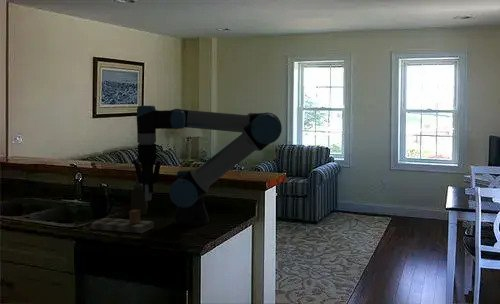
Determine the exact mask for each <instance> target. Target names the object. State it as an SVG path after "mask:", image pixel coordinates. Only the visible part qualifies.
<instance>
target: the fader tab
mask: <svg viewBox="0 0 500 304" xmlns="http://www.w3.org/2000/svg"><path fill="white" fill-rule="evenodd" d="M141 217H142V216H140V210H135V209H134V210H131V209H130V211H128V220H129V223H133V224H137V223H138V222H141V221H142V220H141V219H142V218H141Z"/></svg>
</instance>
